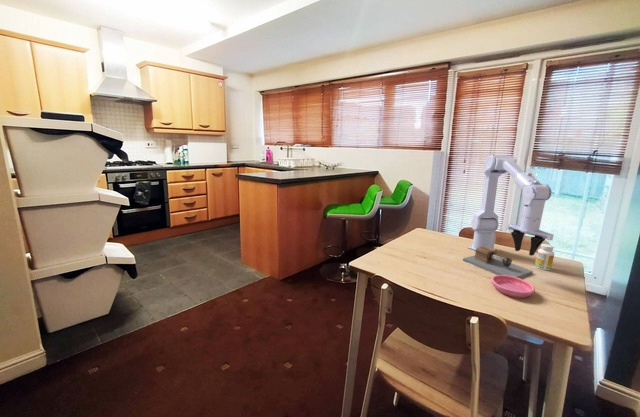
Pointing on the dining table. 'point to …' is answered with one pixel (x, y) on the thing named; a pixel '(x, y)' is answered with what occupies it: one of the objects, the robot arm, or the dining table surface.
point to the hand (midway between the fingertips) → (524, 252)
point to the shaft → (501, 259)
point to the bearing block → (484, 254)
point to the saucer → (512, 286)
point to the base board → (499, 267)
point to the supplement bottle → (544, 257)
